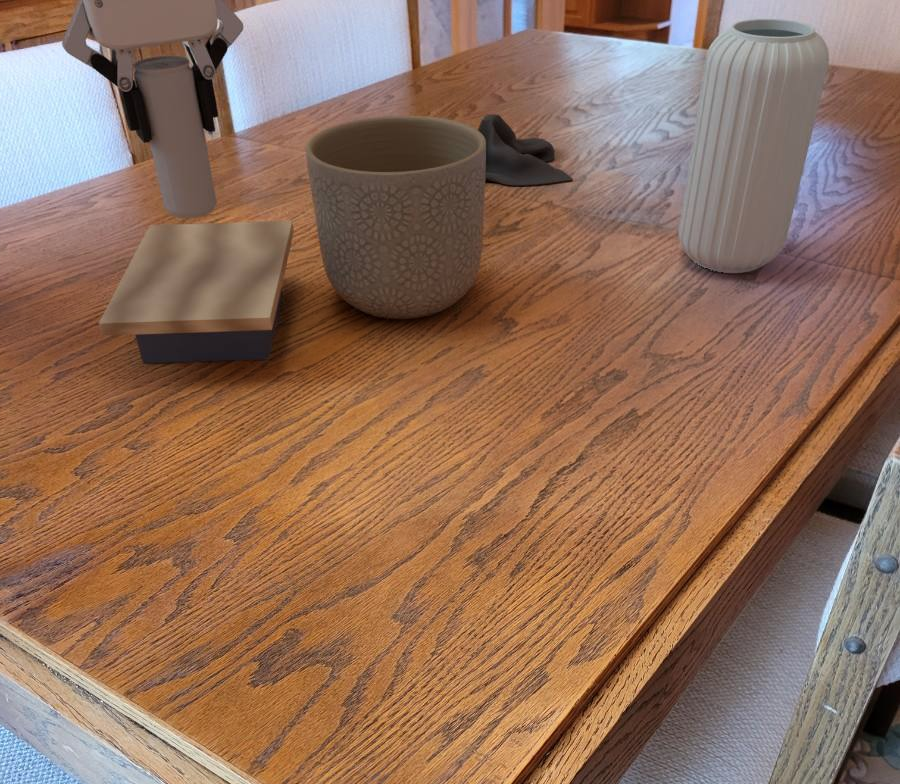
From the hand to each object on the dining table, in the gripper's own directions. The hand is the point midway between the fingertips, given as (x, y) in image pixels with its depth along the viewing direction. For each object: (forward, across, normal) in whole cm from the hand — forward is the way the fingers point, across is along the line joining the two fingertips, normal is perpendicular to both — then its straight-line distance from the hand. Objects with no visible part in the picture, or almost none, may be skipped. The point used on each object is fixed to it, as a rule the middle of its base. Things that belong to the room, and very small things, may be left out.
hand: (175, 130), depth 78 cm
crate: (+18, 0, 0) cm, 18 cm away
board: (+13, 0, 0) cm, 13 cm away
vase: (+18, -55, +12) cm, 59 cm away
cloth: (+19, -48, -27) cm, 58 cm away
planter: (+18, -19, +4) cm, 27 cm away
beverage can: (+7, 0, 0) cm, 7 cm away
